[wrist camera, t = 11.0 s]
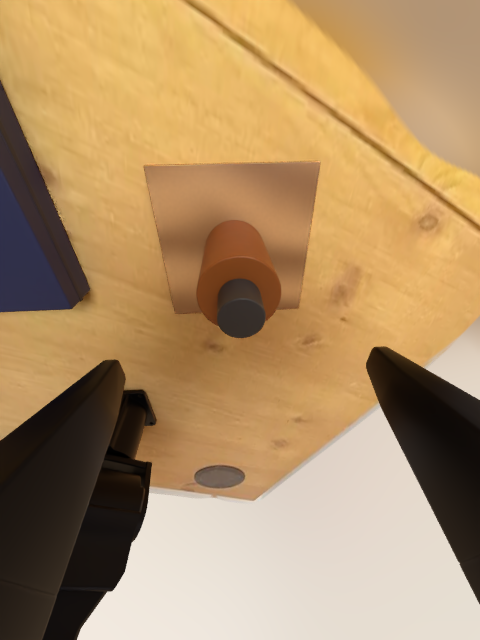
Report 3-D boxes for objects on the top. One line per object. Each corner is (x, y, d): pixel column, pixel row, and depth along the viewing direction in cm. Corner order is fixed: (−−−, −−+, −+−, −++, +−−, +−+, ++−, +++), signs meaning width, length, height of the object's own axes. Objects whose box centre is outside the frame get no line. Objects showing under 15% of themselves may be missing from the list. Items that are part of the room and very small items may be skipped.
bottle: (262, 276, 19) (285, 353, 12) (208, 278, 19) (197, 357, 12) (265, 218, 17) (296, 272, 9) (202, 220, 17) (184, 276, 9)
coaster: (297, 306, 22) (298, 308, 21) (175, 311, 21) (175, 314, 21) (318, 161, 15) (321, 161, 15) (145, 165, 15) (143, 165, 15)
